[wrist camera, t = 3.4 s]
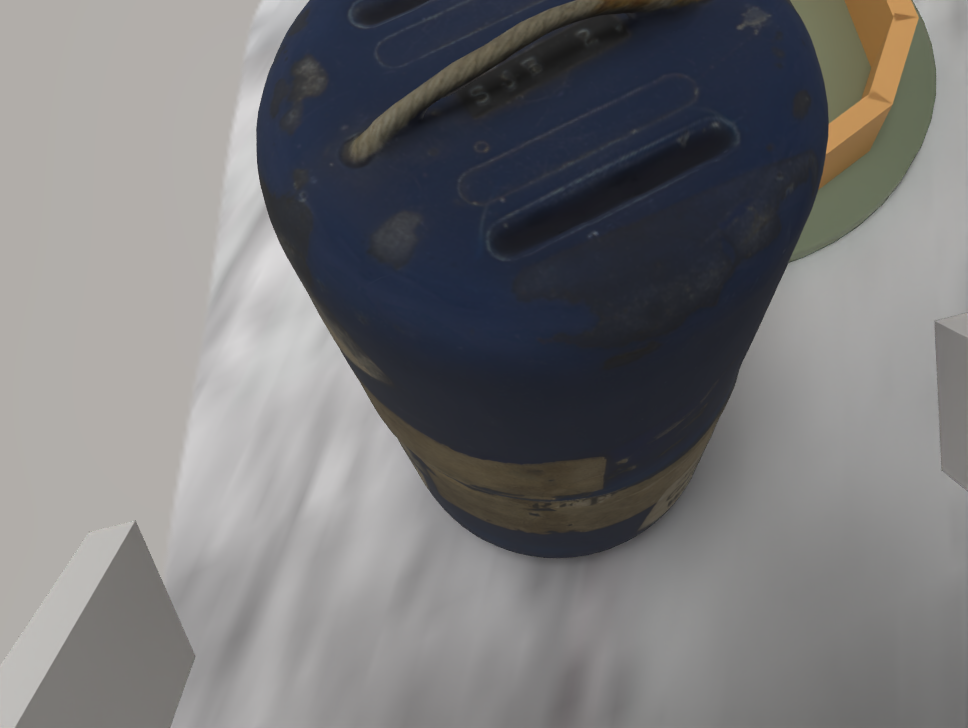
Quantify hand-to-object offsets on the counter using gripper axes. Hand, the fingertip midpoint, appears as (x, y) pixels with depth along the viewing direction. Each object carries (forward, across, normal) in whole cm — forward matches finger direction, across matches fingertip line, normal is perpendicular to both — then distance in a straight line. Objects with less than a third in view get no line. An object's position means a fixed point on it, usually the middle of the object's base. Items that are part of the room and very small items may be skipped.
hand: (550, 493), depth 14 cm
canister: (+14, +1, -6) cm, 15 cm away
